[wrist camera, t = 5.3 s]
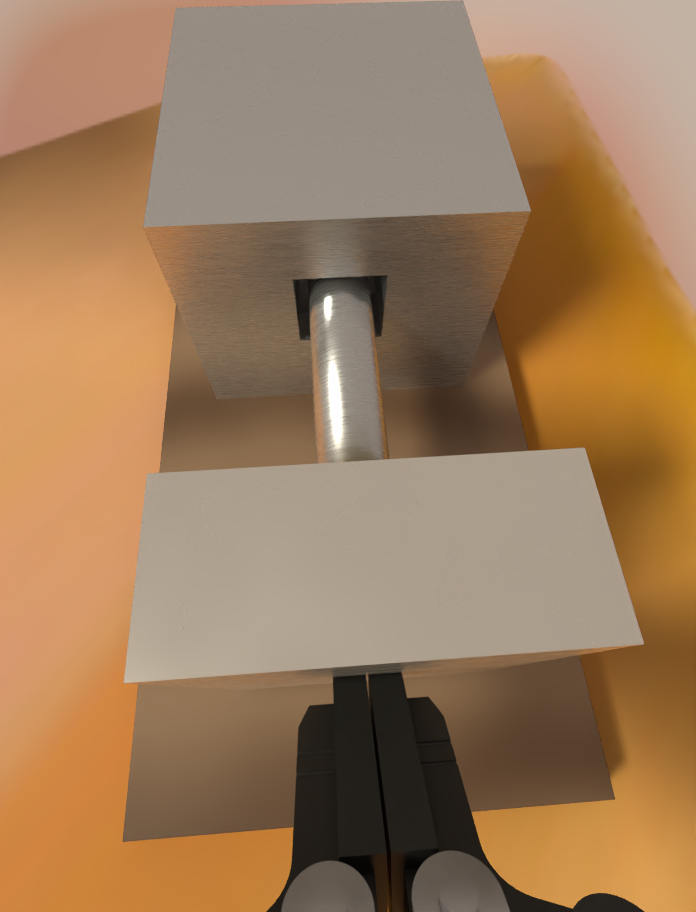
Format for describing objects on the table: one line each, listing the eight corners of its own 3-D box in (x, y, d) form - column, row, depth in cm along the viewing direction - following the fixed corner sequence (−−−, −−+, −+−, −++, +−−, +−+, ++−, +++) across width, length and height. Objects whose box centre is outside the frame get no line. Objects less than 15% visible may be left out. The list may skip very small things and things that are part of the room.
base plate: (596, 792, 16) (615, 799, 14) (138, 830, 15) (122, 841, 14) (455, 197, 27) (460, 177, 26) (194, 208, 27) (187, 188, 26)
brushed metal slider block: (477, 672, 15) (644, 644, 7) (248, 689, 15) (123, 683, 7) (399, 203, 24) (430, -64, 16) (255, 209, 24) (206, -59, 16)
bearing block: (463, 385, 21) (531, 210, 13) (216, 399, 20) (142, 227, 13) (427, 205, 25) (462, 0, 18) (226, 213, 25) (175, 7, 17)
